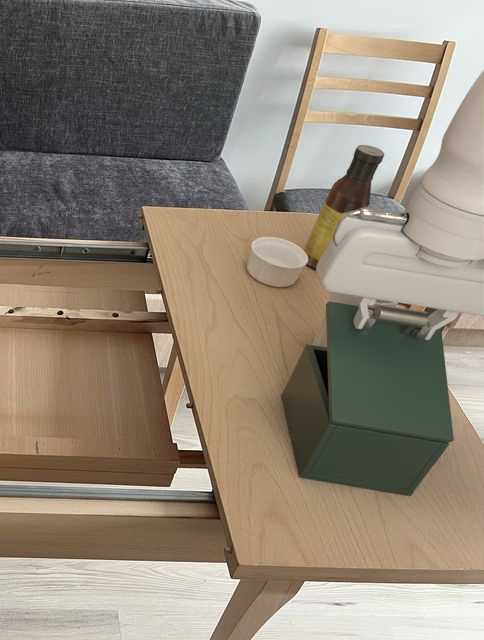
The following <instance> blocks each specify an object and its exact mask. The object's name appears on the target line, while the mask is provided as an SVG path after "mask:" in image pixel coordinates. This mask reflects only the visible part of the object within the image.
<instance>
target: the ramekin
mask: <svg viewBox="0 0 484 640" xmlns="http://www.w3.org/2000/svg"><path fill="white" fill-rule="evenodd" d="M304 250H305V249H303V248H302V247H300V246H299V245H298V244H295V243H294V242H292V241H289V240H287V239H284V238H281V237H277V236H275V237H274V236H262V237H261V236H260V237H258V238H257V237H256V238H255V239H254V240H253V241H252V242H251V244H250V252H249V255H248V259H247V263H246V269H247V272H248V274H249V275H250V276H251V277H252V278H253V279H255V280H256V281H258V282H259V283H261V284H263V285H266V286H269V287H274V288H285V287H290V286H292V285H294V284H295V283H296V281H297V280H298V278H299V276H300V274H301V273H302V271H303V269H304V268H305V267H306V265H307V263H308V256H307V254H306V252H305V251H304Z"/></svg>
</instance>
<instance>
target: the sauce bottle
mask: <svg viewBox="0 0 484 640" xmlns="http://www.w3.org/2000/svg"><path fill="white" fill-rule="evenodd" d="M384 157H385V152H384V151H383V150H381V148H379V147H376V146H373V145H367V144H359V145H357V147H356V148H355V151H354V153H353V158H352V160H351V162H350V165H349V167H348V168H347V170H346V173H345V174H344V175H343V176H342V177H341V178H338V179H337V180H336V181H335V182H334V183H333V185H332V186H331V188H330V189H329V192H328V195H327V197H326V199H325V200H324V202H323V204H322V207H321V209H320V211H319V213H318V216H317V218H316V221H315V223H314V225H313V228H312V230H311V232H310V234H309V235H308V236H309V237H308V238H307V240H306V244H305V246H304V249H303V250H304V251H305V252H306V254H307V256H308V263H307V264H306V265H307V266H308V267H310V268H312V269H314V270H316V267H317V264H318V262H319V260H320V258H321V256H322V254H323V253H324V251H325V249H326V248H327V246H328V244H329V243H330V241H331V240H332V238H333V233H334V231H335V228H336V226H337V224H338V222H339V220H340V218H341V217H342V216H343V215H346V214H347V213H350V212H352V211H359V209H360V208H370V207H369V206H370V204H371V191H372V181H373V179H374V176H375V174H376V171H377V169H378V167H379V165H380V164H381V163H382V162H383V160H384ZM353 216H358V215H353Z"/></svg>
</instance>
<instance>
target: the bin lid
mask: <svg viewBox="0 0 484 640" xmlns="http://www.w3.org/2000/svg"><path fill="white" fill-rule="evenodd" d="M358 309H359V308H358V306H355V305H349V304H343V303H336V302H330V301H329V300H328V301H327V302H326V304H325V310H326V329H327V360H328V392H329V423H333V424H339V425H345V426H351V427H357V428H363V429H370V430H376V431H382V432H388V433H394V434H400V435H406V436H412V437H418V438H424V439H430V440H436V441H442V442H448V443H449V444H450V443H453V442H454V441H455V437H454V428H453V420H452V419H453V418H452V411H451V404H450V393H449V386H448V385H449V384H448V377H447V375H448V374H447V368H446V367H447V366H446V358H445V349H444V341H443V332H442V327H441V328H439V329H436V331H435V332H434V334H433V335H432V337H431V338H430V339H429V340H425V339H419V338H414V334H412V332H411V331H412V330H414V329H415V328H416V327H419V328H423V327H425V326H426V324H427V322H428V316H429V313H428V312H427V311H425V310H418V309H413V308H408V307H407V308H406V307H401V306H396V307H394V306H388V305H382V304H378V305H377V306H376V307H375V309H374V308H368V309H369V310H373V313H374V314H373V315H374V316H375V318H376V321H375V323H374V325H372V329H371V330H370V331H369V330H362V329H356V328H355V325H354V323H353V320H354V317H355V315H356V313H357V311H358Z"/></svg>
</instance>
